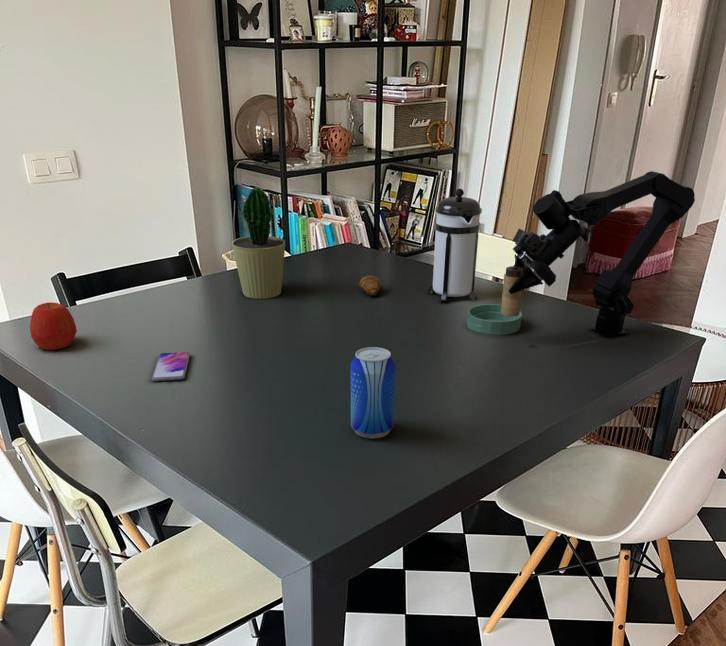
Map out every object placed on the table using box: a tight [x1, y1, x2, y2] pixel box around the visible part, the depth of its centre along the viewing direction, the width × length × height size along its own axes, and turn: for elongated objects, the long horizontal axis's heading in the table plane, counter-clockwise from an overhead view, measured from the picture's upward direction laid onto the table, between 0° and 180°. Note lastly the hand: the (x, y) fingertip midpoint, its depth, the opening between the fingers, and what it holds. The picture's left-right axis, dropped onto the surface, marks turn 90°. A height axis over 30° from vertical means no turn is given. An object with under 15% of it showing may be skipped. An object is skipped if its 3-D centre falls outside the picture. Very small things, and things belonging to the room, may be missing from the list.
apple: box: [29, 301, 78, 351], centre depth 179 cm, size 11×11×11 cm
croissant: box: [358, 274, 382, 298], centre depth 218 cm, size 14×7×5 cm, turn 10°
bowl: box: [466, 303, 523, 336], centre depth 193 cm, size 14×14×4 cm
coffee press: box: [428, 188, 483, 304], centre depth 209 cm, size 17×16×30 cm
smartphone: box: [151, 351, 191, 382], centre depth 169 cm, size 7×1×15 cm
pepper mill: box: [500, 264, 523, 317], centre depth 178 cm, size 5×5×12 cm
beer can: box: [350, 346, 396, 439], centre depth 140 cm, size 8×8×16 cm
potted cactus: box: [231, 186, 286, 300], centre depth 210 cm, size 15×15×30 cm
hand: (506, 289), depth 178 cm, fingers closed on pepper mill, 4 cm apart
